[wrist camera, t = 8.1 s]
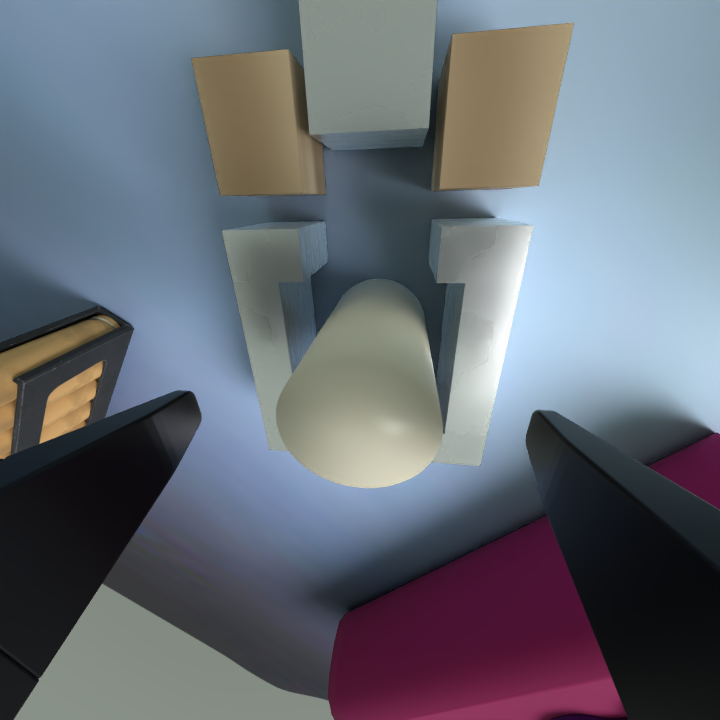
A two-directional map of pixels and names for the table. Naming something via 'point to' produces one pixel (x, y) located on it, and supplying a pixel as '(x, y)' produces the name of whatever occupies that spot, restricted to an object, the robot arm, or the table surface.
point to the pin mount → (453, 120)
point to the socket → (459, 329)
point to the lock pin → (368, 71)
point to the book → (491, 631)
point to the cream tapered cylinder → (365, 392)
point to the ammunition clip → (59, 377)
